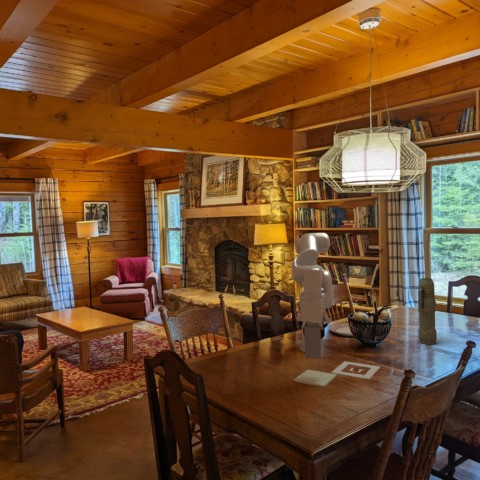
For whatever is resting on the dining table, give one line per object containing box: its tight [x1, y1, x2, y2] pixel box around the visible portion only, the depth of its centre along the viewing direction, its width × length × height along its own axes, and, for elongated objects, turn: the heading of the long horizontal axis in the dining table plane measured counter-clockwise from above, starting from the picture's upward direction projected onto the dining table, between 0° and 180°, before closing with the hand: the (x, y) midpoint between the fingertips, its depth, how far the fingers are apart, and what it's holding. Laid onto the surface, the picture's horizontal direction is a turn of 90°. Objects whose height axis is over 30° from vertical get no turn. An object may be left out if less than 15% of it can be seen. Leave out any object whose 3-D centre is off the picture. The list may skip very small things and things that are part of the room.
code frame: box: [331, 361, 381, 380], centre depth 198 cm, size 17×17×1 cm
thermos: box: [417, 277, 438, 346], centre depth 234 cm, size 9×12×35 cm
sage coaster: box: [293, 369, 338, 388], centre depth 190 cm, size 14×14×1 cm
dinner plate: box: [328, 322, 354, 337], centre depth 262 cm, size 28×27×3 cm
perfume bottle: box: [304, 321, 325, 360], centre depth 189 cm, size 7×7×18 cm
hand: (314, 336), depth 189 cm, fingers closed on perfume bottle, 6 cm apart
